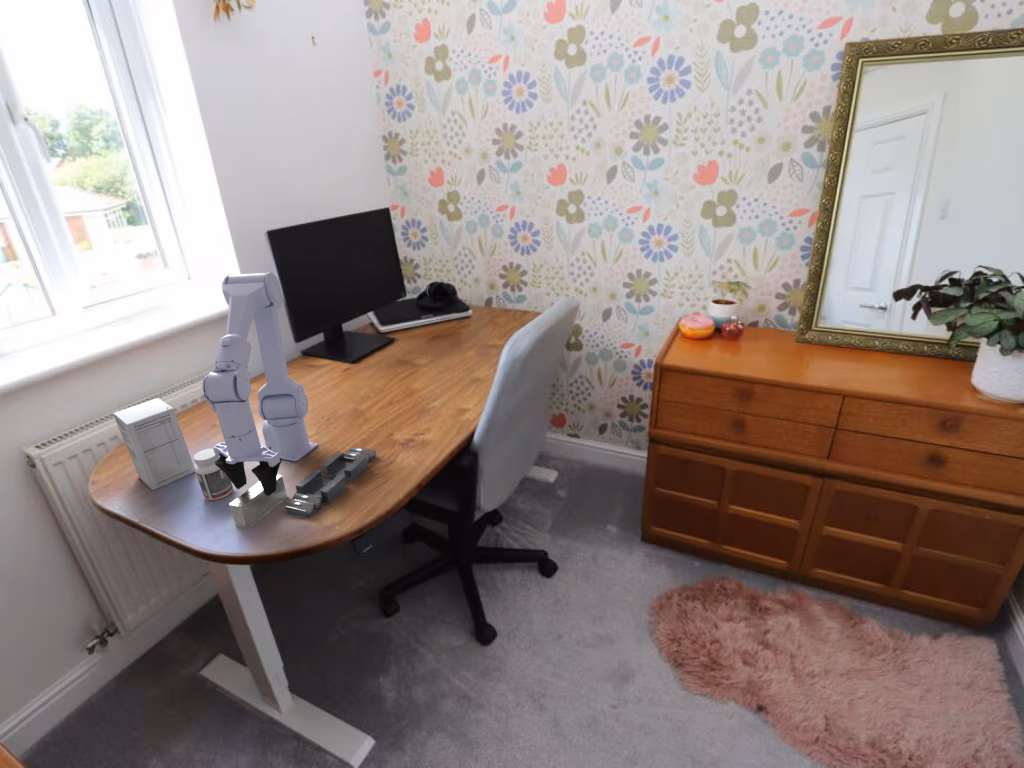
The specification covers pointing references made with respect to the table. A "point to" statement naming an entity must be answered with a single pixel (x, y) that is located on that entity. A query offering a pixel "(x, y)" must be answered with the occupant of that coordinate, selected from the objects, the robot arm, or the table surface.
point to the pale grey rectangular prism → (256, 504)
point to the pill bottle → (211, 475)
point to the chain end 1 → (314, 494)
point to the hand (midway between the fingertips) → (256, 489)
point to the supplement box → (155, 442)
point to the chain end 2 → (348, 463)
